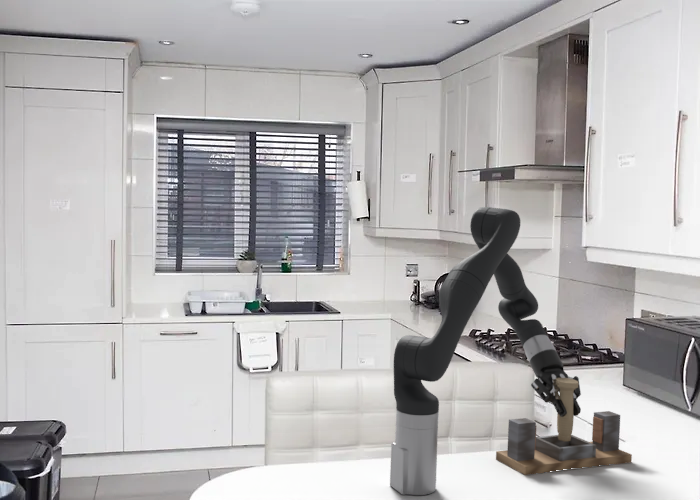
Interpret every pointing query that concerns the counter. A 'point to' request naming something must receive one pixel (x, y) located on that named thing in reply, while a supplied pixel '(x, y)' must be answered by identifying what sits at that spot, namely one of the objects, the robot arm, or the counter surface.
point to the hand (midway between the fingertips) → (570, 414)
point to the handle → (566, 407)
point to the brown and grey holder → (562, 447)
